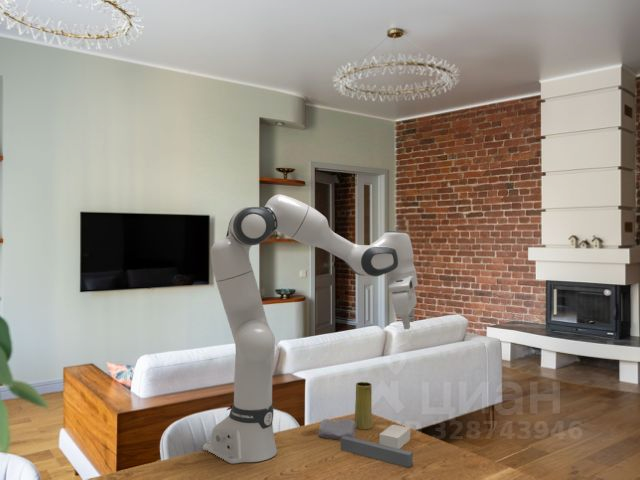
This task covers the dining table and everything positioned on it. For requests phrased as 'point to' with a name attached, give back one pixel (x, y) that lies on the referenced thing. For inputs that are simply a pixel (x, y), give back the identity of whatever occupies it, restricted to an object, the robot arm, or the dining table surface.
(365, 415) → the vase
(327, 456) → the dining table surface
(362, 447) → the charcoal board
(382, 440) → the offwhite block
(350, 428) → the stone block
